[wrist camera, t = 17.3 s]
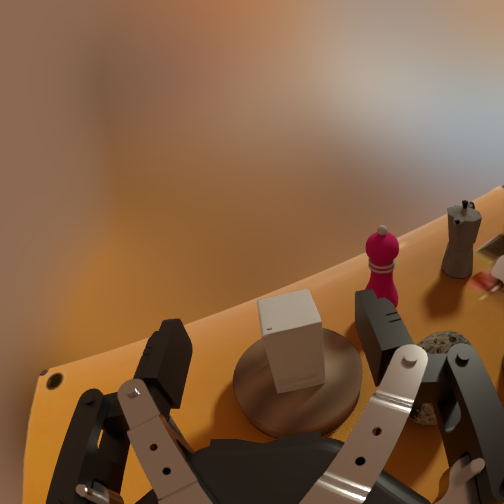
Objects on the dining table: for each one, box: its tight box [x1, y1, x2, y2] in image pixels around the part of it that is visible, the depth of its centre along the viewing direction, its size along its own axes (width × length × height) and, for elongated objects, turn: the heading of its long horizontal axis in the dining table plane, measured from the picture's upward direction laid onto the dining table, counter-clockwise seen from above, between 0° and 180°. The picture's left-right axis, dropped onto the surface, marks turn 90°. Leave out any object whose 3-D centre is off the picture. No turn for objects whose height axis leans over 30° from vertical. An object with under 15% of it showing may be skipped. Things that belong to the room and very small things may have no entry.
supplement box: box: [257, 289, 326, 394], centre depth 38 cm, size 7×7×13 cm
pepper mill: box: [365, 225, 399, 308], centre depth 48 cm, size 7×7×20 cm
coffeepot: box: [442, 200, 482, 279], centre depth 54 cm, size 15×9×18 cm, turn 123°
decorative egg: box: [408, 331, 473, 425], centre depth 29 cm, size 12×12×15 cm
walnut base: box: [233, 328, 362, 439], centre depth 42 cm, size 20×20×5 cm
